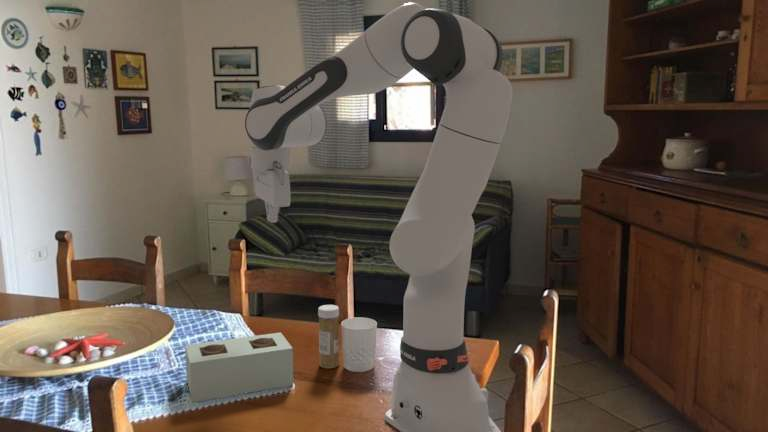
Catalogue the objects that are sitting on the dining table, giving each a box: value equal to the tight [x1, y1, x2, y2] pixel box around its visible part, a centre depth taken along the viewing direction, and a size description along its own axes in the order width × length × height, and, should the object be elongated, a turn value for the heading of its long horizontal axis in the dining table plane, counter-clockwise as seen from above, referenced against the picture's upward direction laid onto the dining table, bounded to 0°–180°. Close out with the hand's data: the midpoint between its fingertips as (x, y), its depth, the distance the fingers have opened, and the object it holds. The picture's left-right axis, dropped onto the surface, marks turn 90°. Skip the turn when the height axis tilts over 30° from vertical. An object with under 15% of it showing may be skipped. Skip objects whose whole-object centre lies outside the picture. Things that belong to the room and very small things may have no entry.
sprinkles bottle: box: [317, 304, 340, 369], centre depth 134 cm, size 5×5×14 cm
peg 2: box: [253, 338, 273, 349], centre depth 127 cm, size 4×4×7 cm
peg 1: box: [203, 344, 224, 356], centre depth 123 cm, size 4×4×7 cm
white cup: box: [340, 316, 378, 373], centre depth 134 cm, size 8×8×10 cm
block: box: [184, 331, 294, 403], centre depth 125 cm, size 10×20×8 cm, turn 113°
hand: (272, 221), depth 137 cm, fingers closed
